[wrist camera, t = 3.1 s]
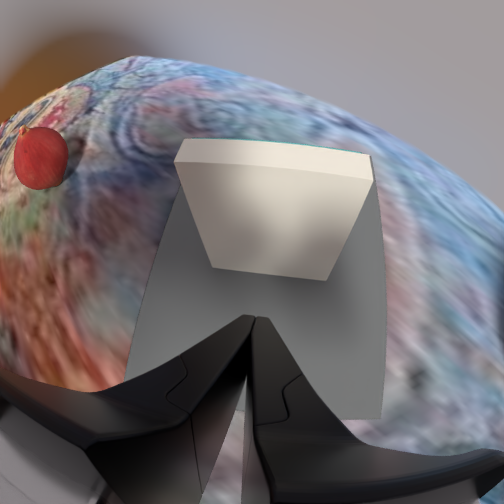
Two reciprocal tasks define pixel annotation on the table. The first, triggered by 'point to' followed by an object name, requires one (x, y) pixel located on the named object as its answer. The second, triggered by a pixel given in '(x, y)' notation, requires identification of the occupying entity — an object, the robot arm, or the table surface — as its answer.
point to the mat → (275, 310)
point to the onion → (40, 157)
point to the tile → (273, 203)
